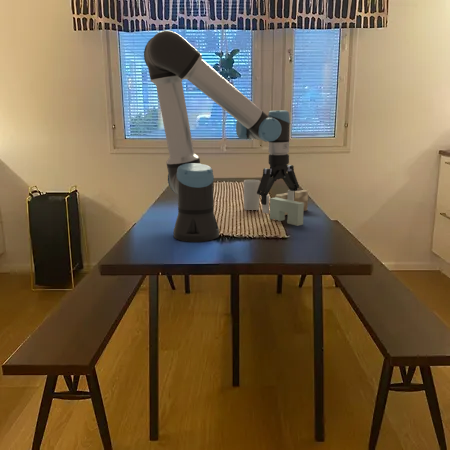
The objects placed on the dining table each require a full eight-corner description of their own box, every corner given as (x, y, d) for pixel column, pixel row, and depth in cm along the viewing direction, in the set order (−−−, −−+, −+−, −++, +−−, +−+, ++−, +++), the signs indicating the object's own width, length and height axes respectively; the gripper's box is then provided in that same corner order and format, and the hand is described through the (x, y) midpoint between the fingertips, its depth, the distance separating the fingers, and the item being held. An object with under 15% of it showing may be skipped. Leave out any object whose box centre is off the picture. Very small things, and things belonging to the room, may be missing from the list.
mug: (259, 211, 190) (259, 182, 187) (242, 210, 191) (242, 182, 188) (260, 206, 200) (260, 178, 197) (244, 205, 200) (245, 178, 197)
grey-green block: (297, 225, 167) (298, 204, 165) (269, 218, 177) (270, 198, 175) (302, 224, 169) (303, 202, 167) (275, 217, 179) (275, 197, 177)
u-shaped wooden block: (280, 216, 181) (281, 195, 179) (275, 214, 184) (275, 194, 182) (307, 210, 191) (308, 191, 189) (301, 208, 194) (302, 190, 192)
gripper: (261, 157, 159) (261, 217, 165) (309, 151, 175) (307, 206, 180) (246, 155, 165) (247, 213, 170) (294, 150, 180) (293, 203, 186)
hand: (278, 210), depth 175 cm, fingers open, 13 cm apart
